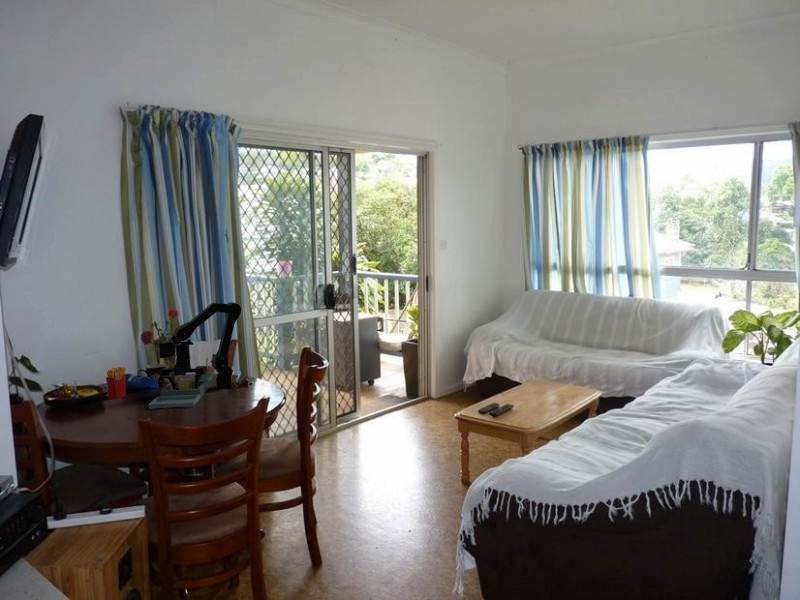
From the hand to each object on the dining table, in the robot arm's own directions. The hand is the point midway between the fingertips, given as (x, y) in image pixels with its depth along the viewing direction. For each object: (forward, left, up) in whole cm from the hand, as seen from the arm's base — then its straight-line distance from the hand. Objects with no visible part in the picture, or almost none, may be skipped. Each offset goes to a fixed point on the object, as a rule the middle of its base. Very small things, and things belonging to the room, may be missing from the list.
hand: (185, 389), depth 282 cm
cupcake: (-4, -22, -2) cm, 22 cm away
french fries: (+29, +1, -2) cm, 29 cm away
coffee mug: (+18, -14, -2) cm, 23 cm away
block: (0, 0, -2) cm, 2 cm away
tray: (0, +17, -2) cm, 17 cm away
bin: (0, 0, -2) cm, 2 cm away
